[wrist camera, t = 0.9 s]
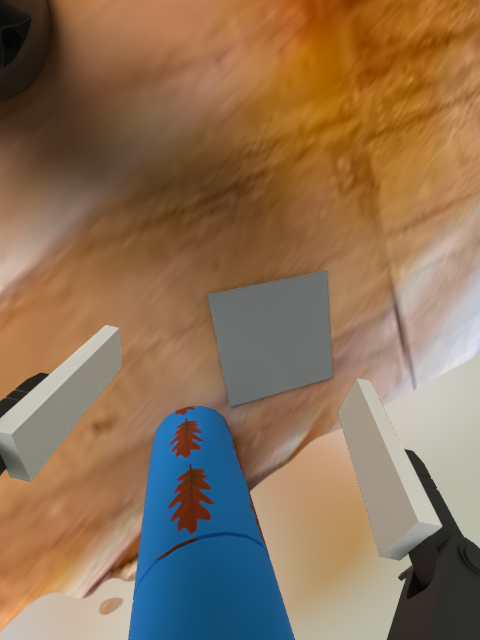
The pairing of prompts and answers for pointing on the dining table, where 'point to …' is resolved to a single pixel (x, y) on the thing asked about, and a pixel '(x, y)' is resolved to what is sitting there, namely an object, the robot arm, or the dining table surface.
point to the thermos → (202, 542)
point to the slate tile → (273, 335)
